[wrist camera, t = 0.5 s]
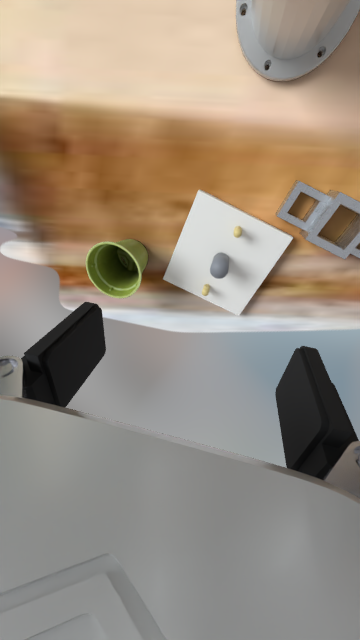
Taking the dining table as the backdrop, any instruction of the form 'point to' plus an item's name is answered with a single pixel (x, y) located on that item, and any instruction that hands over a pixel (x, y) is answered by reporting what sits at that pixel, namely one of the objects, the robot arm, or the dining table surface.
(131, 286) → the plant pot
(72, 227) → the dining table surface
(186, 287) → the post block
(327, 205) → the bracket
